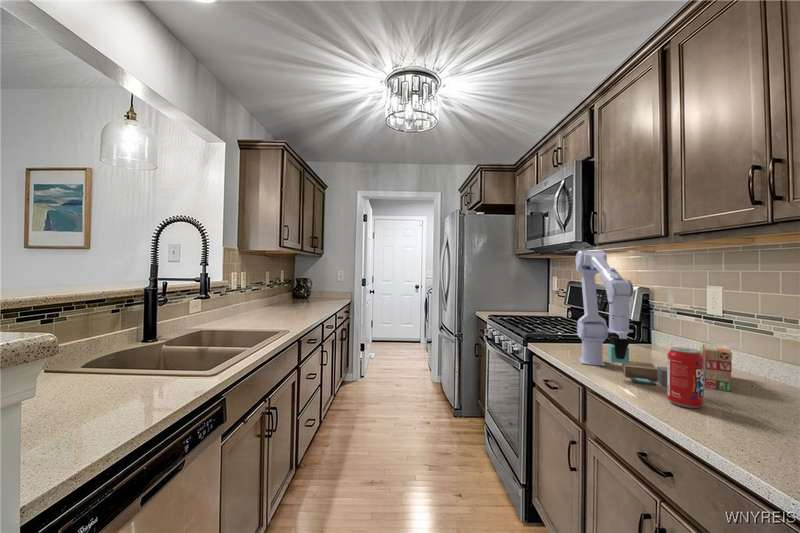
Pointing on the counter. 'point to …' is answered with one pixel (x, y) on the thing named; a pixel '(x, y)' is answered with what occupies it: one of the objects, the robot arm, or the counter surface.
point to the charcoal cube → (662, 376)
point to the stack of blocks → (717, 366)
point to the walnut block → (639, 370)
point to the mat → (643, 381)
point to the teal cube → (613, 357)
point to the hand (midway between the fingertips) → (618, 356)
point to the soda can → (685, 377)
